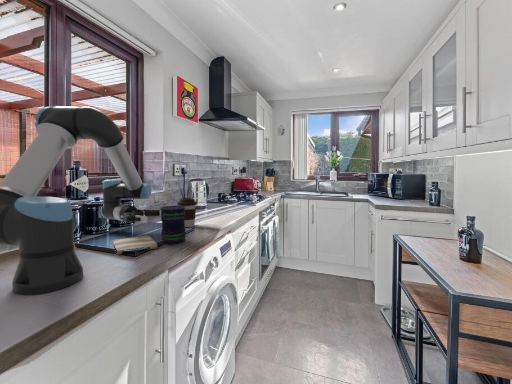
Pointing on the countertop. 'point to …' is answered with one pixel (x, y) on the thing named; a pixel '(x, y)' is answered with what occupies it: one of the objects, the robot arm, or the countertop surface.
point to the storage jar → (173, 225)
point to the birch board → (133, 243)
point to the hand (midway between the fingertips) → (159, 217)
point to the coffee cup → (189, 210)
